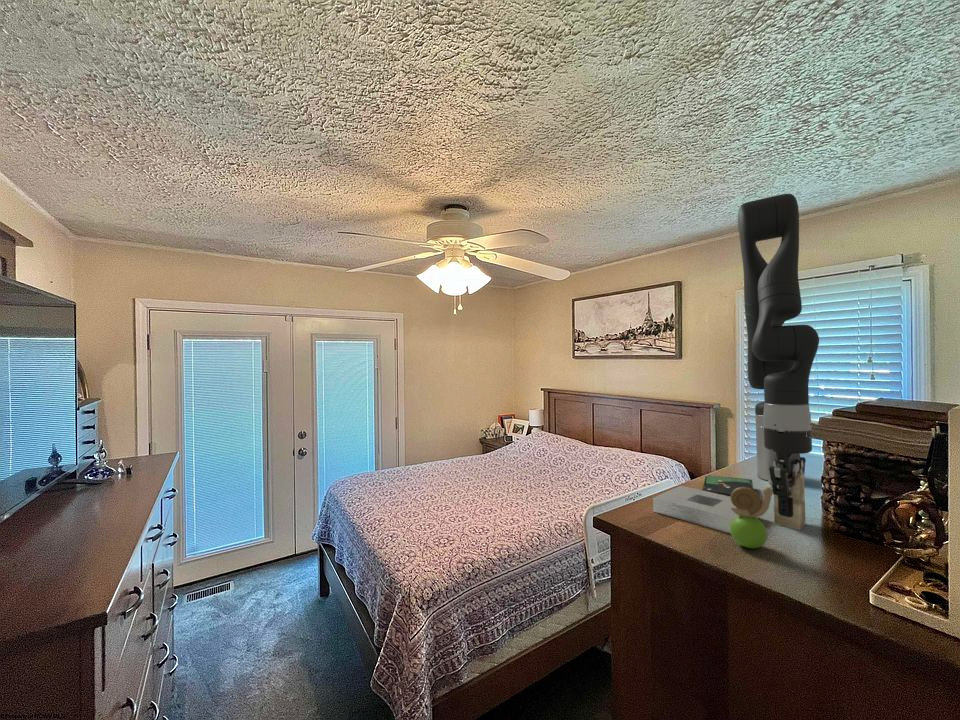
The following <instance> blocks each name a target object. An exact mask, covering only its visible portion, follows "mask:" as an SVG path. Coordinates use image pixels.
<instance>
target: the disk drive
mask: <svg viewBox="0 0 960 720" xmlns="http://www.w3.org/2000/svg"><path fill="white" fill-rule="evenodd" d="M738 487H747V488H750V489H752V490H754V486H753V480H752V479H748V478H739V477H732V476H731V477H729V476H719V475H718V476H717V475H711V474H708V475H706V476H705V478H704V481H703V486H702V490H703V491H707V492H712V493H716V494H721V495H725V496H731V493H732V491H733V490H734V489H736V488H738Z"/></svg>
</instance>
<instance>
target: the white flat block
mask: <svg viewBox="0 0 960 720" xmlns="http://www.w3.org/2000/svg"><path fill="white" fill-rule="evenodd" d="M652 499H653V500H652V506H653V507H652V508H653V509H652V510H653V512H655V513H658V514H661V515H664V516H668V517H672V518H675V519H679V520H682V521H686V522H689V523H692V524H695V525H699V526H703V527H706V528H710V529H712V530H713V529H714V530H716V531H720V532H724V533H726V534H729V535H732V534H731V531H730V525H731V522H732V520H733V519H734V518H735V517H737V516H739V515H737V514H736V513H735V512H733V511H732V510H731V507H734V508H736V507H735V506H734V505H733V504H732V502H731V499H730V496H725V495H721V494H716V493H712V492H707V491H703V490H701V489H697V488H692V487H690V486H689V487H688V486H685V485H679V486H677V487H673V488H672V489H669V490H668V491H665V492H662V493H661V494H658V495H657V496H654V497H653V498H652ZM755 518H757V519H758V520H759V518H760V516H758V517H755Z"/></svg>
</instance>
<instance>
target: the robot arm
mask: <svg viewBox="0 0 960 720" xmlns="http://www.w3.org/2000/svg"><path fill="white" fill-rule="evenodd" d="M737 229H738V235H739V243H740V245H739V246H740V252H741V260H742V270H743V298H744V299H743V301H744V315H745V322H746V332H747V367H746V368H747V380H748V384H749V386H750V387H751V388H753V389H755V390H763V394H764V395H763V397H764V400H763V401H761V402H758V403H756V404H755V406H754V411H755V412H754V413H755V415H754V417H755V441H756V442H755V444H756V445H755V447H756V475H757V478H760V479H761V480H765V481H768V482H769V481H770V480H771V481H772V483H773V484H772V485H771V489H772V490H773V492H772V493H773V494H772V495H774V494H775V495H777V496H778V511H779V514H780V515H782V516H786V517H792V516H793V487H794V486H796V477H797V473H798V474H802V473H804V475H805V473H806V472H805V469H806V461H807V459H806V457H805V456H801V455H803V454H809V453H811V452H812V450H813V442H812V440H813V437H812V436H813V435H812V415H811V410H810V402H809V401H810V397H809V395H810V394H809V381H810V375H811V371H812V367H813V363H814V360H815V357H816V355H817V351H818V349H819V344H820V336H819V333H818V332H817V330H816V329H815V328H814V327H813V326H812V325H809V324H792V325H791V324H789V325H784V324H785V322H786V321H790V320H792V319H795V318H797V317H798V316H800V315H801V313H802V310H803V306H802V297H801V288H800V282H799V257H800V256H799V255H800V254H799V253H800V212H799V205H798V201H797V197H796V196H795V195H794V194H792V193H783V194H776V195H773V196H768V197H764V198H759V199H755V200H751V201H747V202H743V203H742V204H741V205H740V207H739V209H738V211H737ZM779 238H781V239H780V244H779V246H778V248H777V250H776V252H775V254H774V255H773V256H772V258H771V259H770V261H769V262H767V261H766V260H765V259H764V257H763V256H762V254H761V252H760V251H759V248H758V246H757V243H758V242H761V241H768V240H772V239H779ZM810 424H811V425H810ZM806 431H807V436H808V437H806ZM809 437H812V438H809ZM790 478H792V480H791V481H788V479H790ZM781 486H783V487H784V490H783V489H781Z"/></svg>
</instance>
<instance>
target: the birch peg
mask: <svg viewBox="0 0 960 720" xmlns="http://www.w3.org/2000/svg"><path fill="white" fill-rule="evenodd" d="M791 480H792V478H790V479H788V481H791ZM781 489H783V490H784V487H783V486H781ZM805 491H806V490H805V474H804V473H802V474H798V473H797V477H796V486H794V487H793V516H792V517H786V516H782V515H780V514H779V511H778V496H777V495H775V494H773V515H774V517H773V518H774V524H775V525H778V526H782V527H785V528H790V529H793V530H798V531H800V530H802V528H803V527H805V525H806V502H805V501H806V497H805V496H806V495H805V493H806V492H805Z"/></svg>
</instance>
